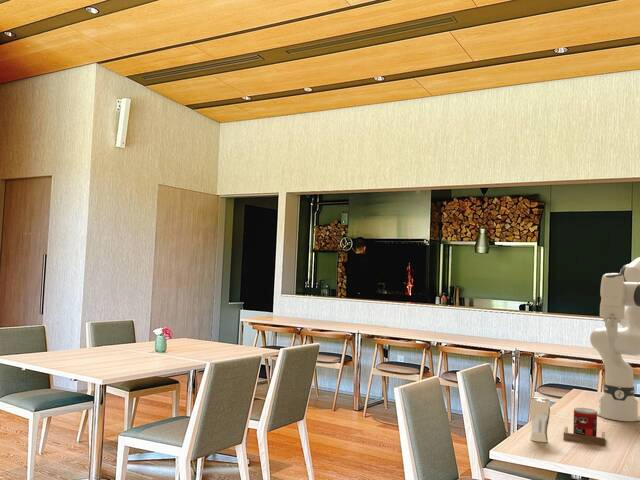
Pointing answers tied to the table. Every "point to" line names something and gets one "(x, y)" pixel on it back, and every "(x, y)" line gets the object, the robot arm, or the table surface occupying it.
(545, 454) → the table surface
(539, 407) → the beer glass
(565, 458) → the table surface
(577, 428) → the canned food
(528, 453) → the table surface
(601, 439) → the open wooden square
